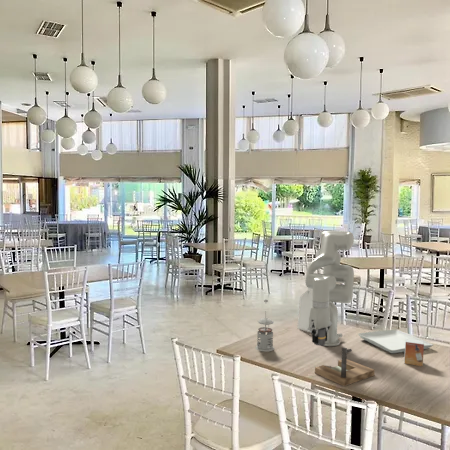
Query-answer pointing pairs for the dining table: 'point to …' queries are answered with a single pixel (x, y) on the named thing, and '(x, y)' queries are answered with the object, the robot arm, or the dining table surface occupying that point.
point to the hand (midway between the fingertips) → (319, 341)
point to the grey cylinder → (321, 336)
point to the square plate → (391, 340)
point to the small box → (414, 352)
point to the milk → (305, 310)
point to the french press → (265, 340)
